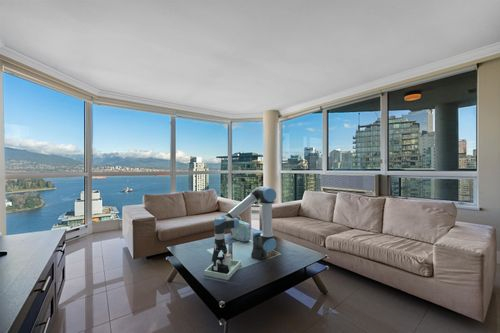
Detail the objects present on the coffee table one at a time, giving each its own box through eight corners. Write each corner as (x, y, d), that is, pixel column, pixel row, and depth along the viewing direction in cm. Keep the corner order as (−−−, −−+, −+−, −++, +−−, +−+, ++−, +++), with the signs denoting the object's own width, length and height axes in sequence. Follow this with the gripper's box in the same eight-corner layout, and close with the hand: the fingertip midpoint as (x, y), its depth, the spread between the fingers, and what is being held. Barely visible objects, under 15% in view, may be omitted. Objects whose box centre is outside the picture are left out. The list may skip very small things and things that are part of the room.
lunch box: (229, 237, 244) (228, 219, 244) (235, 235, 251) (235, 217, 251) (244, 243, 225) (244, 223, 225) (251, 241, 232) (251, 221, 232)
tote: (241, 266, 174) (241, 260, 174) (227, 281, 152) (227, 275, 152) (220, 262, 181) (220, 257, 181) (204, 276, 159) (204, 270, 159)
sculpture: (224, 277, 155) (223, 257, 155) (210, 273, 161) (209, 253, 161) (230, 272, 162) (229, 253, 162) (216, 268, 168) (216, 250, 168)
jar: (233, 264, 175) (232, 254, 175) (229, 268, 169) (229, 257, 169) (226, 263, 177) (225, 253, 177) (222, 267, 171) (222, 256, 171)
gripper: (223, 232, 174) (223, 258, 174) (206, 243, 151) (206, 272, 151) (231, 233, 172) (231, 259, 172) (215, 244, 148) (216, 274, 148)
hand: (220, 265), depth 161 cm, fingers open, 13 cm apart
